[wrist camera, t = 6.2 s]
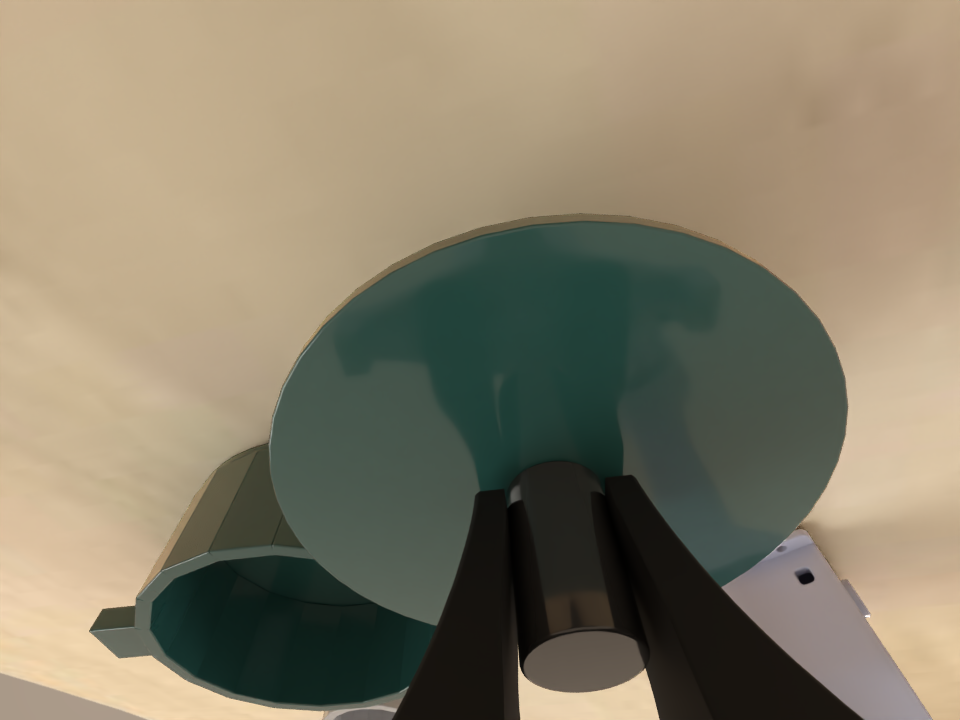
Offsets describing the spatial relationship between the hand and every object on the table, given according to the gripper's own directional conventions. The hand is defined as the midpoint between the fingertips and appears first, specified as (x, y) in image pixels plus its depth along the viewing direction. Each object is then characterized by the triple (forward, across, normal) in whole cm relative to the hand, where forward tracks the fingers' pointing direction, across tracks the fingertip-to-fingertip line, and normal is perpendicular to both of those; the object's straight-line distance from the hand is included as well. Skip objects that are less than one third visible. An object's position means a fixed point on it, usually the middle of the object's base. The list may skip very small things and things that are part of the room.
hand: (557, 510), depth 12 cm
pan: (+8, +11, +10) cm, 17 cm away
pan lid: (+1, 0, 0) cm, 1 cm away
